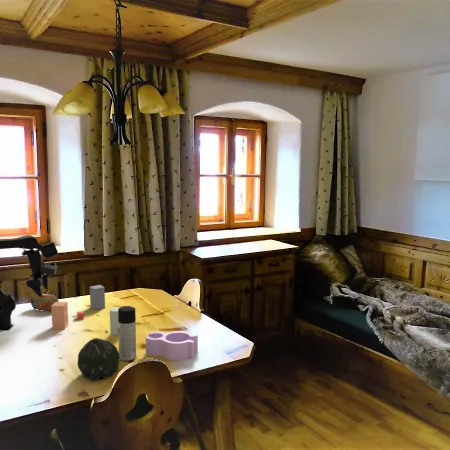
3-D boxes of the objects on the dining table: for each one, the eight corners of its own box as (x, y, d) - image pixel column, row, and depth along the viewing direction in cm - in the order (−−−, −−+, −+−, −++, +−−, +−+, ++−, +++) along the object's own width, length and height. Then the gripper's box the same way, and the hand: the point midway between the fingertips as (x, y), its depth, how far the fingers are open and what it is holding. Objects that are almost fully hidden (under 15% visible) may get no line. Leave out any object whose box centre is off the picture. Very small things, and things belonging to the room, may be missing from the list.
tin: (30, 309, 237) (29, 293, 235) (35, 307, 240) (34, 292, 238) (56, 312, 232) (55, 296, 231) (60, 310, 235) (59, 294, 234)
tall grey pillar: (105, 307, 240) (104, 287, 238) (94, 310, 237) (94, 289, 235) (100, 305, 244) (99, 284, 243) (90, 307, 241) (89, 286, 239)
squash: (120, 347, 179) (93, 323, 172) (132, 364, 166) (103, 339, 159) (92, 376, 175) (64, 353, 169) (102, 395, 162) (71, 372, 156)
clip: (142, 357, 182) (142, 341, 181) (152, 345, 195) (152, 329, 194) (192, 361, 179) (192, 344, 178) (199, 348, 191) (199, 332, 190)
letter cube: (84, 319, 224) (83, 313, 224) (77, 319, 223) (77, 313, 223) (83, 317, 227) (83, 311, 226) (77, 317, 226) (76, 311, 225)
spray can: (128, 352, 187) (127, 304, 184) (140, 357, 183) (139, 308, 180) (115, 358, 182) (113, 308, 179) (126, 363, 177) (125, 312, 174)
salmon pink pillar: (64, 329, 211) (63, 305, 209) (52, 329, 210) (51, 306, 209) (68, 324, 216) (67, 302, 215) (56, 325, 216) (55, 302, 214)
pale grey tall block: (122, 335, 204) (122, 311, 202) (110, 335, 204) (109, 310, 203) (126, 330, 209) (126, 307, 208) (114, 330, 210) (113, 306, 208)
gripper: (46, 265, 207) (55, 297, 211) (58, 252, 225) (66, 282, 229) (21, 269, 207) (30, 302, 211) (35, 256, 225) (43, 286, 229)
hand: (43, 292), depth 220 cm, fingers open, 9 cm apart
